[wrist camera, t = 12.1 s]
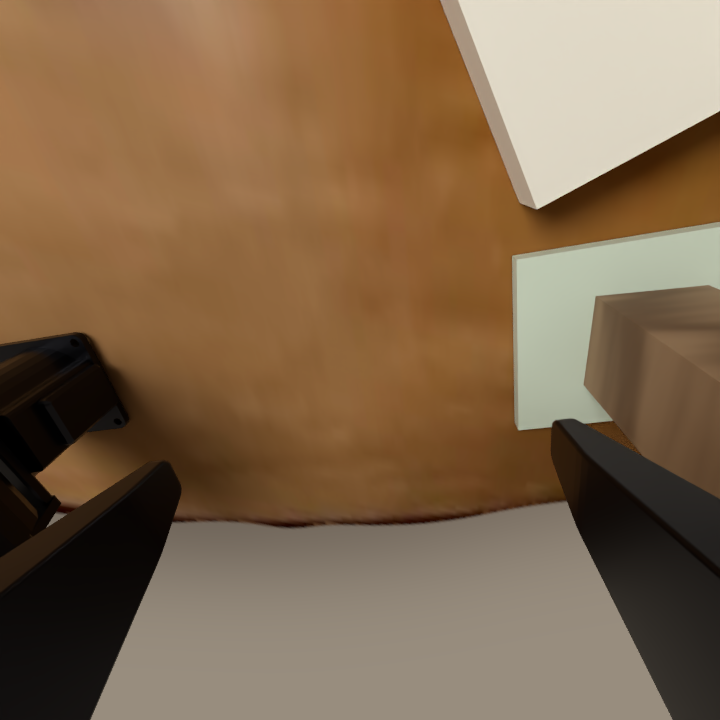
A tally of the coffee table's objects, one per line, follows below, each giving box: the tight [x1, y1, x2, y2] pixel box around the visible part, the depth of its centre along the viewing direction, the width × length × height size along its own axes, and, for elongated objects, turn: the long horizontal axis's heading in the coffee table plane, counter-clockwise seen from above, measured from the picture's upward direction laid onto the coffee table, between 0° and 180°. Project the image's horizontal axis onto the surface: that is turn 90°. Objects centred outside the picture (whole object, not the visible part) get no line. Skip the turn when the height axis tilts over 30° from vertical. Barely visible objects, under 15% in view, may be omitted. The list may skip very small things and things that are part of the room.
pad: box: [512, 222, 720, 430], centre depth 21 cm, size 12×10×1 cm
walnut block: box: [584, 285, 720, 499], centre depth 16 cm, size 5×5×10 cm
